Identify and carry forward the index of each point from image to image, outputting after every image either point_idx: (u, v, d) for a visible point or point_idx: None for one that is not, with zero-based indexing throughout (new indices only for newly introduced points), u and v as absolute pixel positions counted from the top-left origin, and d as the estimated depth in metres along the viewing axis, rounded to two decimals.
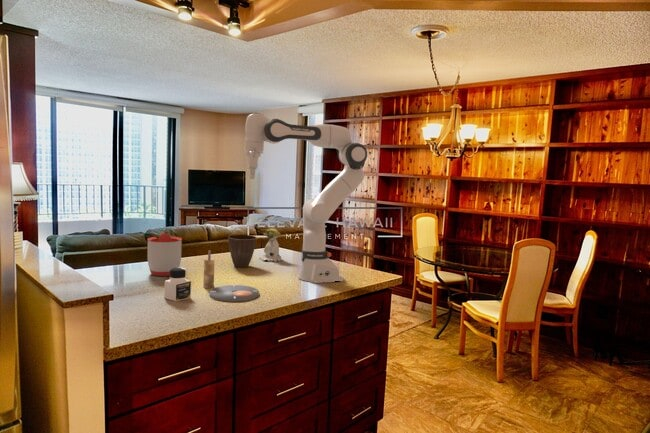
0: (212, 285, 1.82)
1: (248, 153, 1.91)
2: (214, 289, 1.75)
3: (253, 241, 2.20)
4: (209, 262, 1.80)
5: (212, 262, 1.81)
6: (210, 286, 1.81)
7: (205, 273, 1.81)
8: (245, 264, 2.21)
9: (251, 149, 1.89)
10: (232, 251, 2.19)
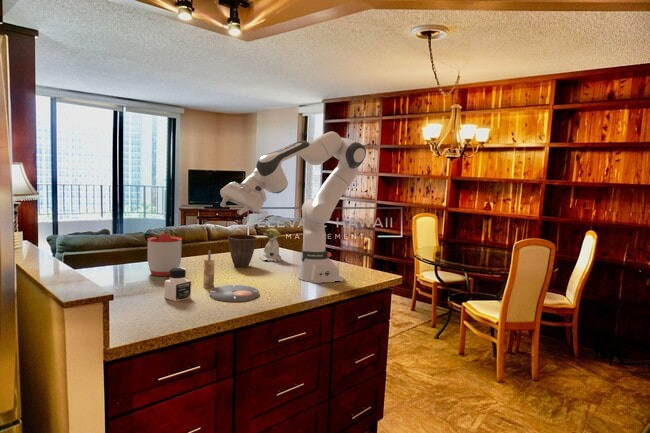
0: (212, 285, 1.82)
1: None
2: (214, 289, 1.75)
3: (253, 241, 2.20)
4: (209, 262, 1.80)
5: (212, 262, 1.81)
6: (210, 286, 1.81)
7: (205, 273, 1.81)
8: (245, 264, 2.21)
9: None
10: (232, 251, 2.19)
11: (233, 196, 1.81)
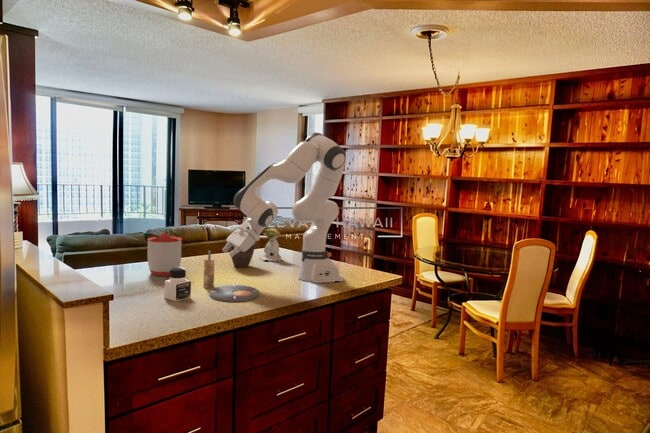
0: (212, 285, 1.82)
1: None
2: (214, 289, 1.75)
3: None
4: (209, 262, 1.80)
5: (212, 262, 1.81)
6: (210, 286, 1.81)
7: (205, 273, 1.81)
8: (245, 264, 2.21)
9: None
10: None
11: (231, 240, 1.87)
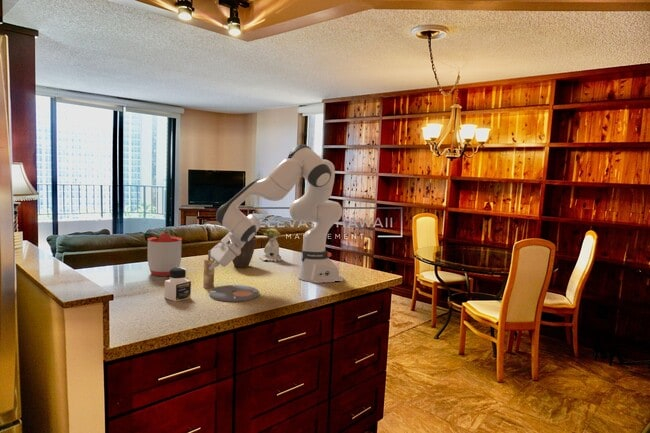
0: (212, 285, 1.82)
1: None
2: (214, 289, 1.75)
3: (253, 241, 2.20)
4: (209, 262, 1.80)
5: (212, 262, 1.81)
6: (210, 286, 1.81)
7: (205, 273, 1.81)
8: (245, 264, 2.21)
9: None
10: None
11: (212, 254, 1.85)
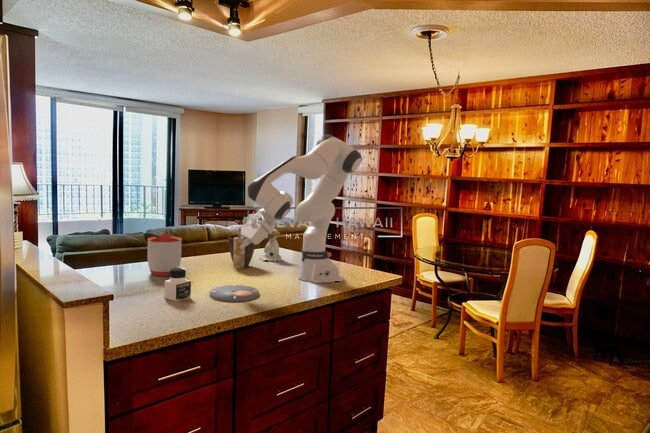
0: (242, 265, 1.71)
1: None
2: (214, 289, 1.75)
3: None
4: (239, 240, 1.69)
5: (243, 240, 1.70)
6: (240, 266, 1.70)
7: (235, 252, 1.69)
8: (245, 264, 2.21)
9: None
10: (232, 251, 2.19)
11: (243, 233, 1.73)
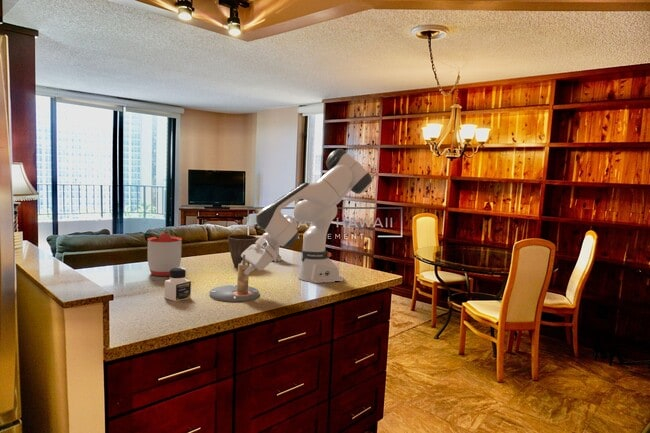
0: (246, 292, 1.71)
1: None
2: (214, 289, 1.75)
3: (253, 241, 2.20)
4: (244, 267, 1.68)
5: (247, 267, 1.69)
6: (244, 293, 1.70)
7: (239, 278, 1.69)
8: None
9: None
10: (232, 251, 2.19)
11: (246, 257, 1.73)
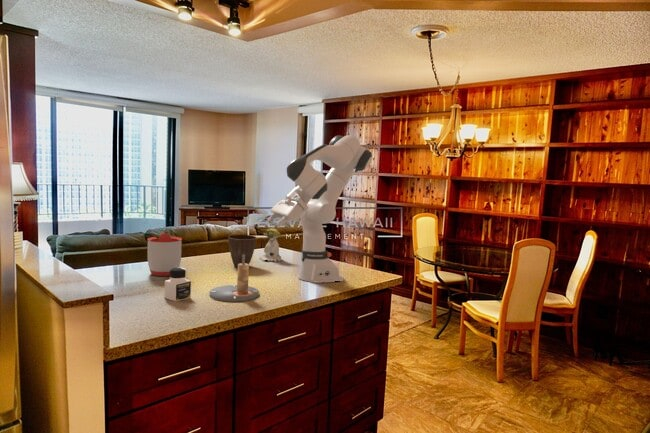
0: (246, 292, 1.71)
1: None
2: (214, 289, 1.75)
3: (253, 241, 2.20)
4: (244, 267, 1.68)
5: (247, 267, 1.69)
6: (244, 293, 1.70)
7: (239, 278, 1.69)
8: None
9: None
10: (232, 251, 2.19)
11: (277, 211, 1.77)
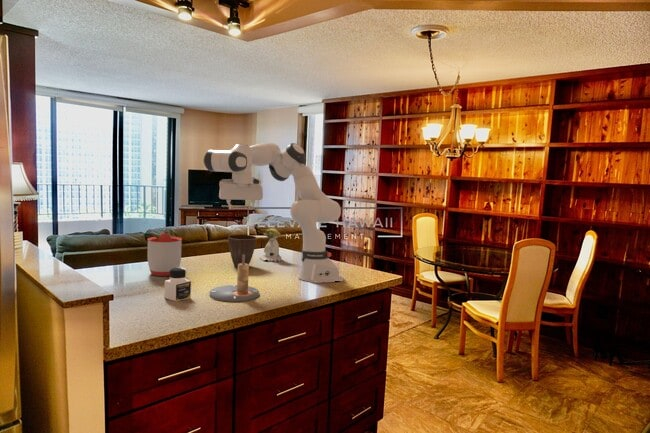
0: (246, 292, 1.71)
1: None
2: (214, 289, 1.75)
3: (253, 241, 2.20)
4: (243, 267, 1.68)
5: (247, 267, 1.69)
6: (244, 293, 1.70)
7: (239, 278, 1.69)
8: None
9: None
10: (232, 251, 2.19)
11: (237, 197, 1.93)
